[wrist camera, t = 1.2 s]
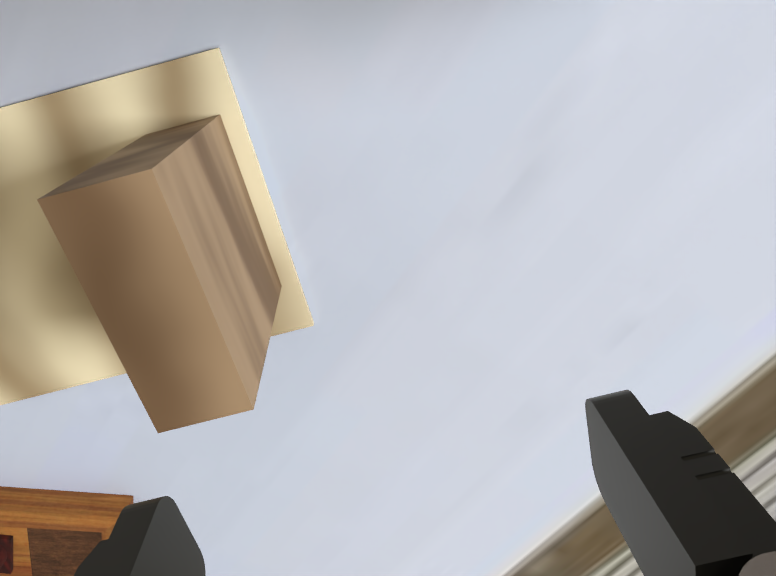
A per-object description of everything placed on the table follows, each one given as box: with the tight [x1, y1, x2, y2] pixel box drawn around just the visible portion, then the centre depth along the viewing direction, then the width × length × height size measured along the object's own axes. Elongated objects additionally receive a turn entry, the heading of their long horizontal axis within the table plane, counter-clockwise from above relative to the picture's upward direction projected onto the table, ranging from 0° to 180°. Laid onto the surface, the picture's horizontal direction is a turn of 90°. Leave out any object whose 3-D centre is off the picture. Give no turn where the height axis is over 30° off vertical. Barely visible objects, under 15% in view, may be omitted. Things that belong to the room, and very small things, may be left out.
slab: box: [37, 115, 282, 433], centre depth 27 cm, size 4×10×12 cm, turn 14°
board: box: [0, 48, 314, 405], centre depth 33 cm, size 20×16×1 cm
